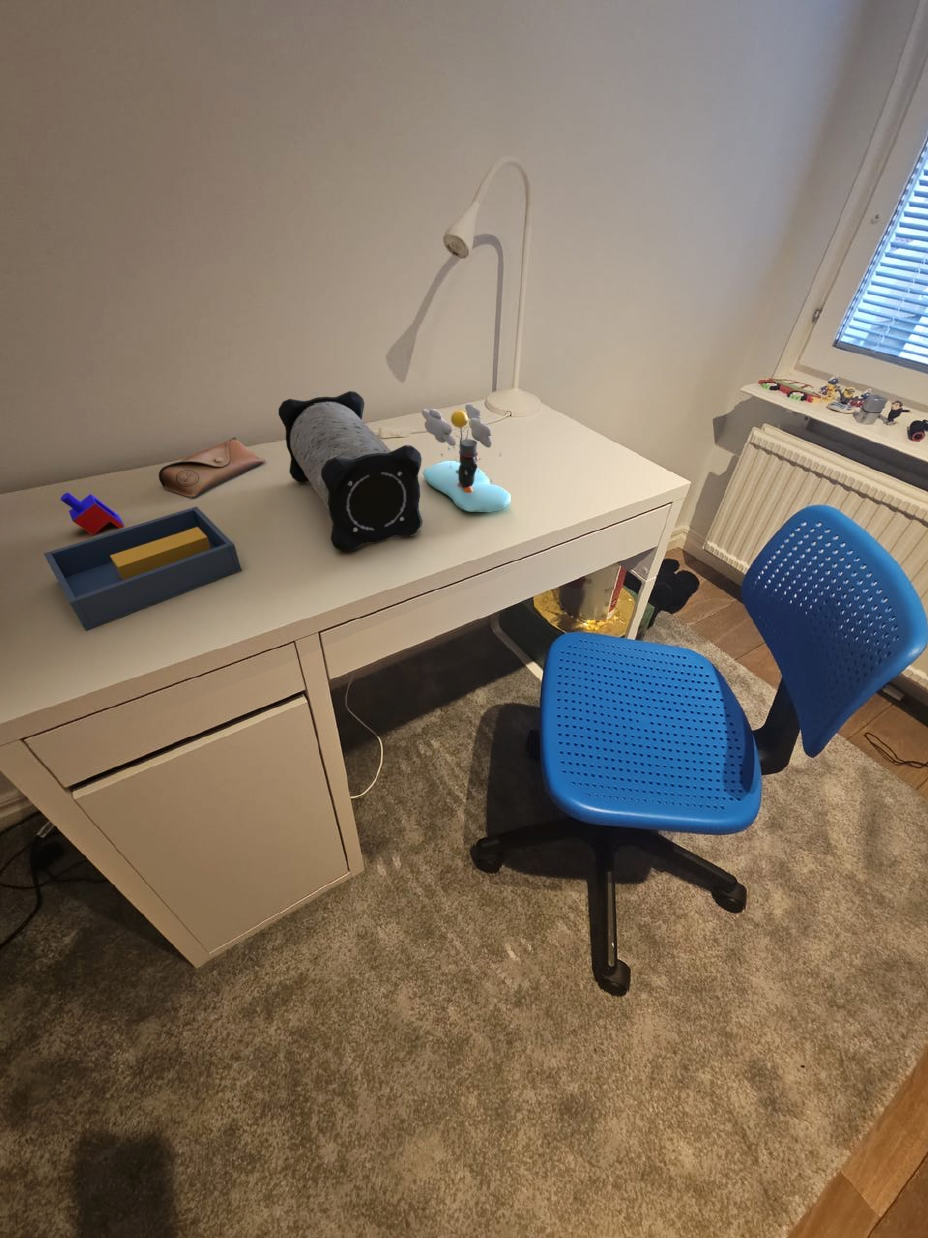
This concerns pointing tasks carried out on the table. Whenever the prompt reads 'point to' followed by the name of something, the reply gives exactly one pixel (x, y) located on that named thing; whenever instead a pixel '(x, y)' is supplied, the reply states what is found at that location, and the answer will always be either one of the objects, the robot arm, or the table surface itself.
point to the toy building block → (90, 513)
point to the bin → (109, 597)
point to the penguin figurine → (464, 463)
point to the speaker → (352, 470)
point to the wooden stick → (160, 553)
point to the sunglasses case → (208, 468)
